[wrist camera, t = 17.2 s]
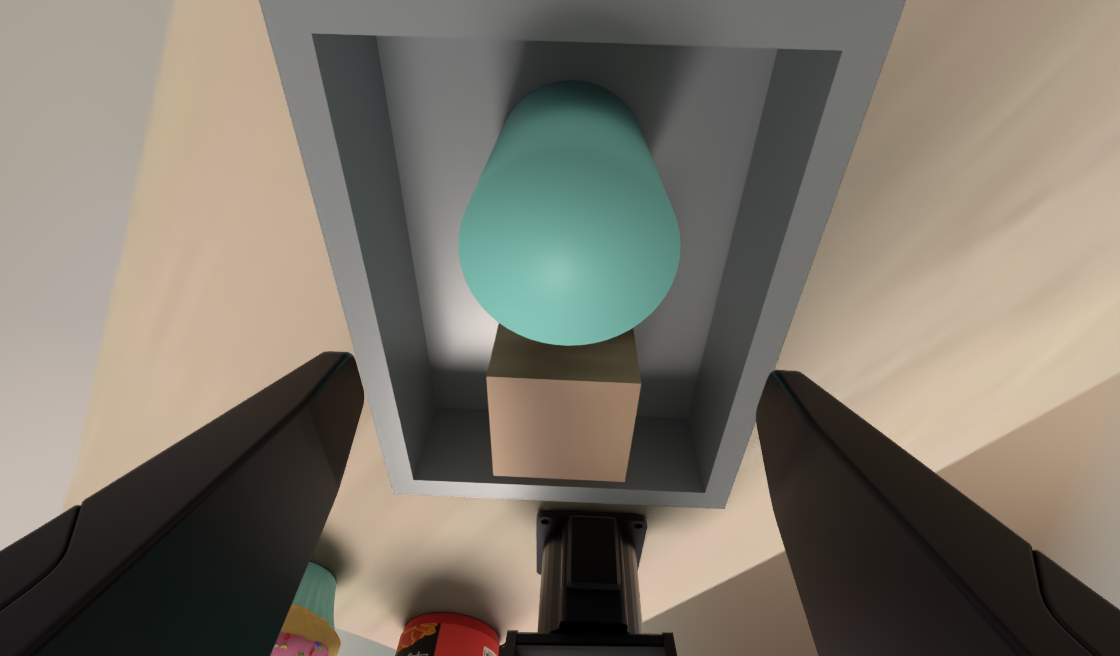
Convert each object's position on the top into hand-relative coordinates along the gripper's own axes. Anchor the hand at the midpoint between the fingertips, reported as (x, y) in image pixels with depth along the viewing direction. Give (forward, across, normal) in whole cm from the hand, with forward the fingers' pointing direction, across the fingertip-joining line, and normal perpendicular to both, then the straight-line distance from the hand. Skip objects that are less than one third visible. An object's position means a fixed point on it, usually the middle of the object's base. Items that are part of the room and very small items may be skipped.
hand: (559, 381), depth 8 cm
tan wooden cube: (+11, 0, +8) cm, 14 cm away
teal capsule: (+11, 0, 0) cm, 11 cm away
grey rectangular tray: (+12, 0, +4) cm, 13 cm away
